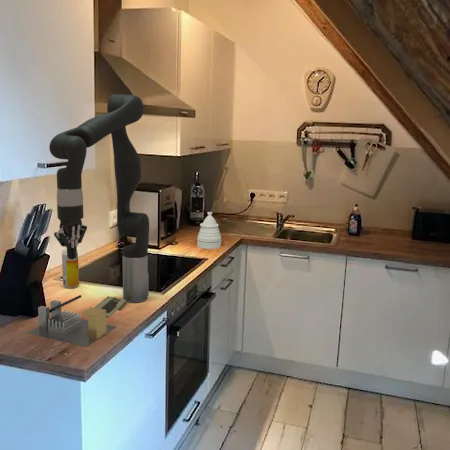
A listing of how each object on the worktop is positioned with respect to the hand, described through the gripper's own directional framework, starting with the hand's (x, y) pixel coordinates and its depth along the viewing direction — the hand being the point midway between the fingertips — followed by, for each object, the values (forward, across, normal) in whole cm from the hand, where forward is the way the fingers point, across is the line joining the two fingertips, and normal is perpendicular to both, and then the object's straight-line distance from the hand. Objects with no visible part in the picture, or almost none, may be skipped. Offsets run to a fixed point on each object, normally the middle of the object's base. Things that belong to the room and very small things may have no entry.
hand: (72, 258), depth 154 cm
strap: (+16, 0, -4) cm, 17 cm away
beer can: (+25, -35, -30) cm, 52 cm away
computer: (+26, -20, -2) cm, 32 cm away
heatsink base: (+25, 0, -1) cm, 25 cm away
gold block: (+24, 0, +7) cm, 25 cm away
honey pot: (+25, -120, -6) cm, 123 cm away
